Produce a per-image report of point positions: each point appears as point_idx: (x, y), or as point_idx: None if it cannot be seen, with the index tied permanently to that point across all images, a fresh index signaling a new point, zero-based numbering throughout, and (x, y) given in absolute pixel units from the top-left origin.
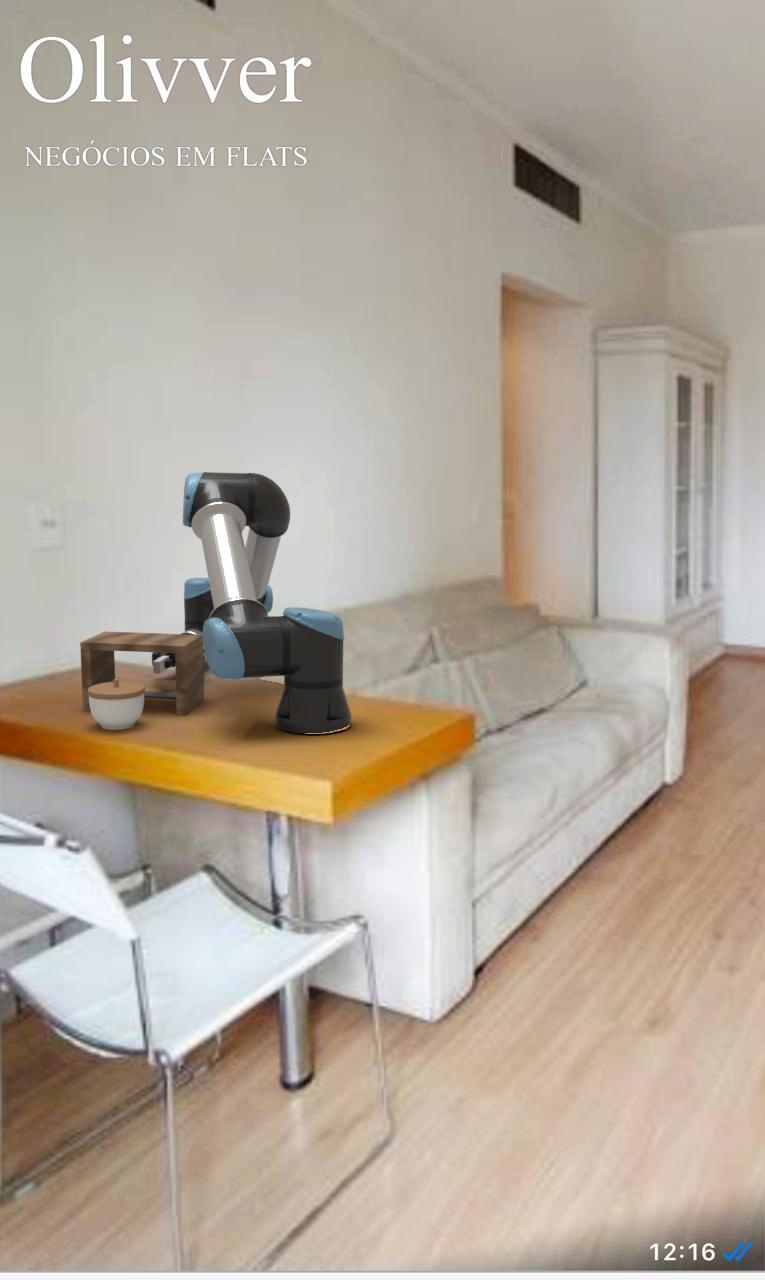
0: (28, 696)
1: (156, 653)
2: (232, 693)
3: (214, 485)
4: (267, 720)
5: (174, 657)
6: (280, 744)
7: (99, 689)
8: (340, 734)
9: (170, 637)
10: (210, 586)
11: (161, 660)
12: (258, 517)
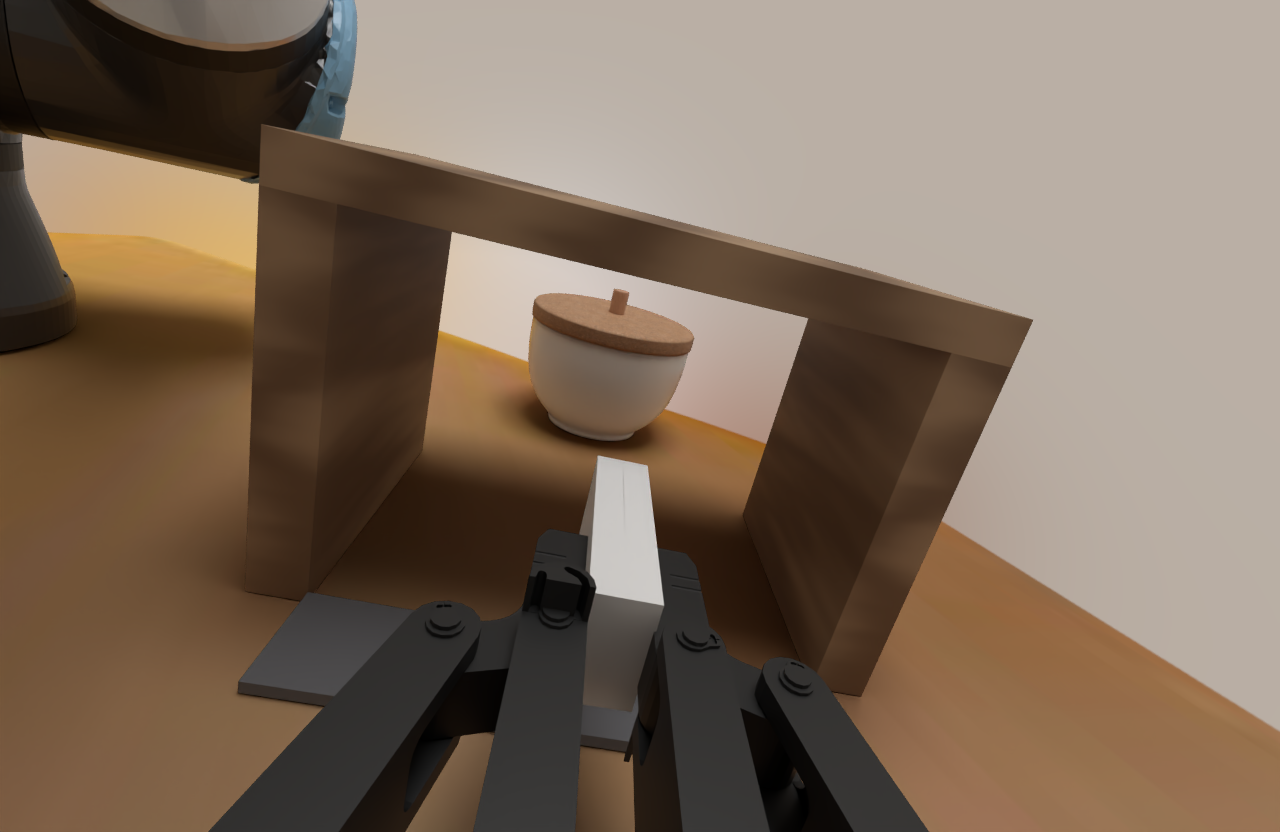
0: (1180, 704)
1: (818, 744)
2: None
3: None
4: (49, 367)
5: (523, 614)
6: (148, 293)
7: (649, 313)
8: None
9: (514, 184)
10: None
11: (597, 476)
12: None
